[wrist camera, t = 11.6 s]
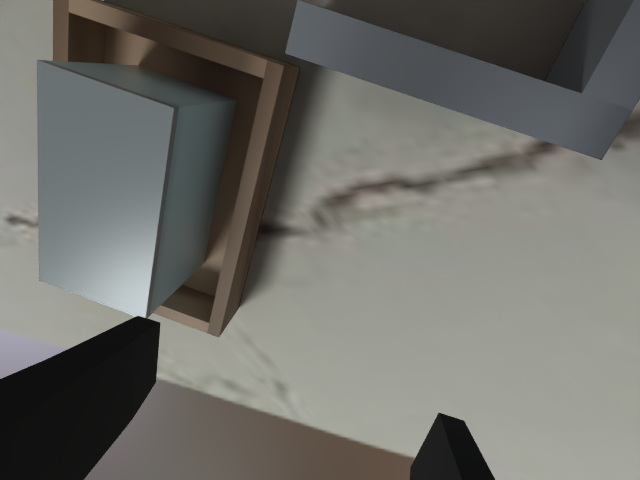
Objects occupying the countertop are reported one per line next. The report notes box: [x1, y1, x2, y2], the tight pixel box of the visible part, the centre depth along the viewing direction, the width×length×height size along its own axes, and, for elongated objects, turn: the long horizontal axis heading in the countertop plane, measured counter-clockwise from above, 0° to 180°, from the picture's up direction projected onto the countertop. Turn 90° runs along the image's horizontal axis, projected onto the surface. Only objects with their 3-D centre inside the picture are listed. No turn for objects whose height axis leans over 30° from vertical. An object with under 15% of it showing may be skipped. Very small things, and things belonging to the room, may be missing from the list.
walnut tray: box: [53, 0, 300, 337], centre depth 17 cm, size 9×12×2 cm
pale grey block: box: [37, 60, 237, 318], centre depth 15 cm, size 4×8×5 cm, turn 163°
